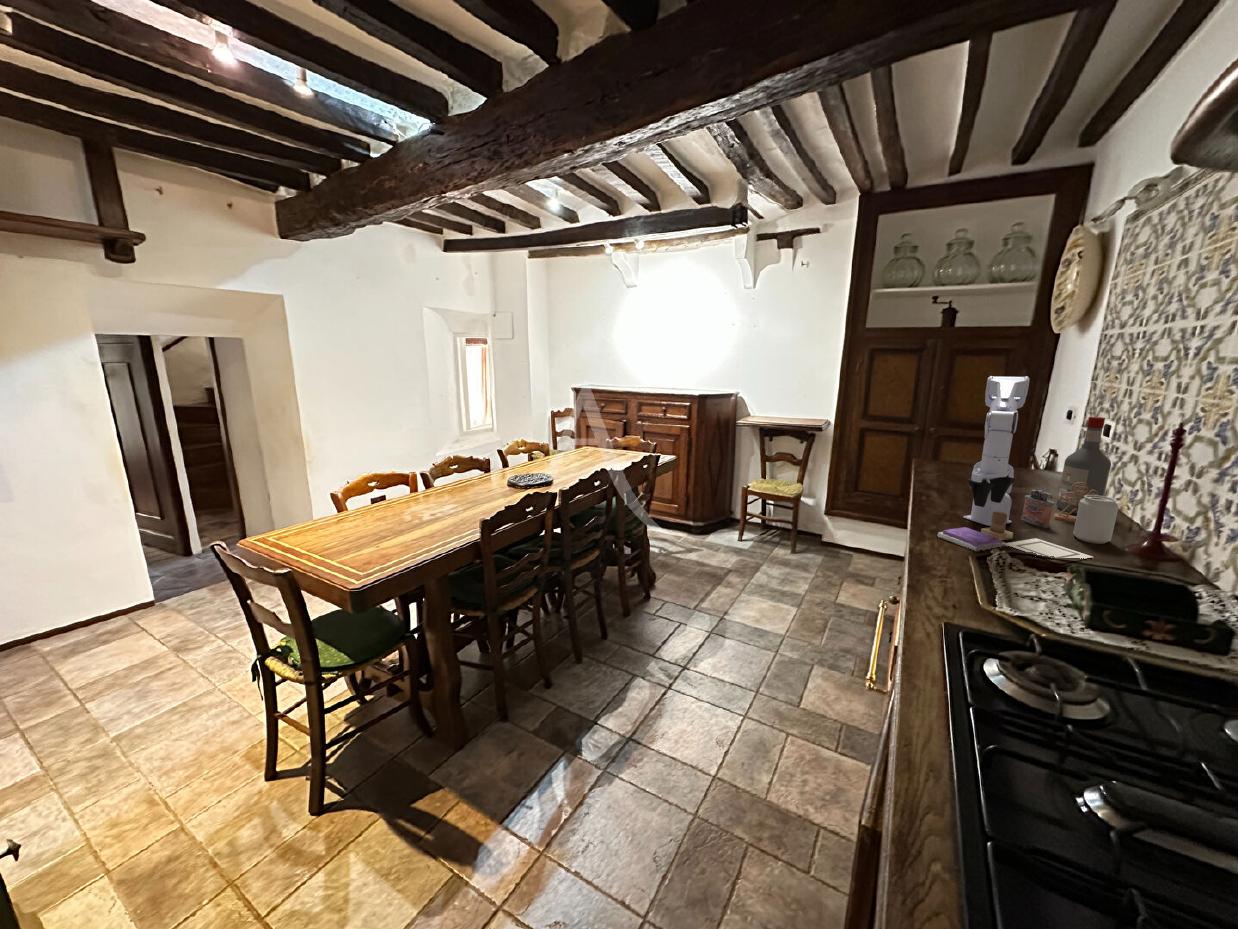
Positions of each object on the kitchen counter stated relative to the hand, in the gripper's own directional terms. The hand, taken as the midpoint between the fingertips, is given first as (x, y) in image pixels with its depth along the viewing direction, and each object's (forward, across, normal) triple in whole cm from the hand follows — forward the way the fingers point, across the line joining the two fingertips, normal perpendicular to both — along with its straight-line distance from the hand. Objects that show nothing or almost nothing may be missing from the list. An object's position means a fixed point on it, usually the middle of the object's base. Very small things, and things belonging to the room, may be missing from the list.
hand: (987, 504), depth 132 cm
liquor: (+10, -51, 0) cm, 52 cm away
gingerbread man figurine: (+10, -38, +4) cm, 39 cm away
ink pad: (+9, +7, +1) cm, 12 cm away
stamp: (+10, -2, +2) cm, 10 cm away
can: (+10, -23, +14) cm, 29 cm away
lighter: (+10, -25, +1) cm, 27 cm away
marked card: (+9, -3, +13) cm, 17 cm away
